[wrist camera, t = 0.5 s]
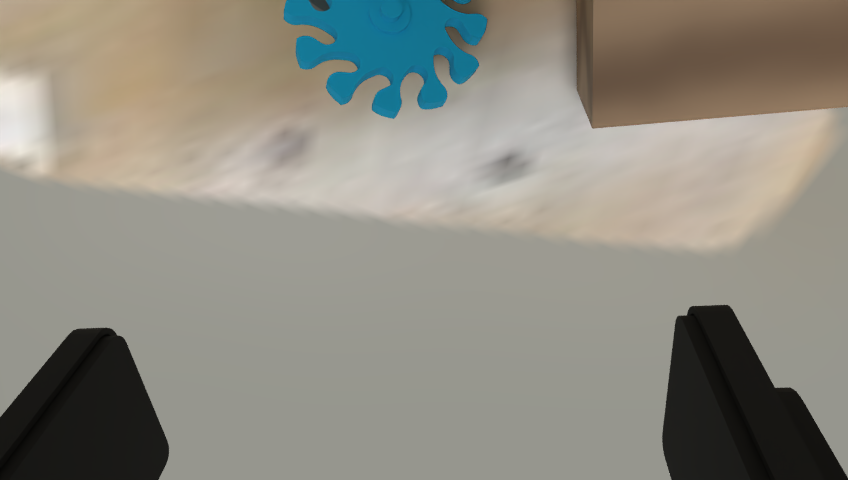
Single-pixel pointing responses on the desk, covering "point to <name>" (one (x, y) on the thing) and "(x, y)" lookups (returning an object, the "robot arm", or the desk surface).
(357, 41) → the gear
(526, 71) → the desk surface
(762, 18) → the hole block
